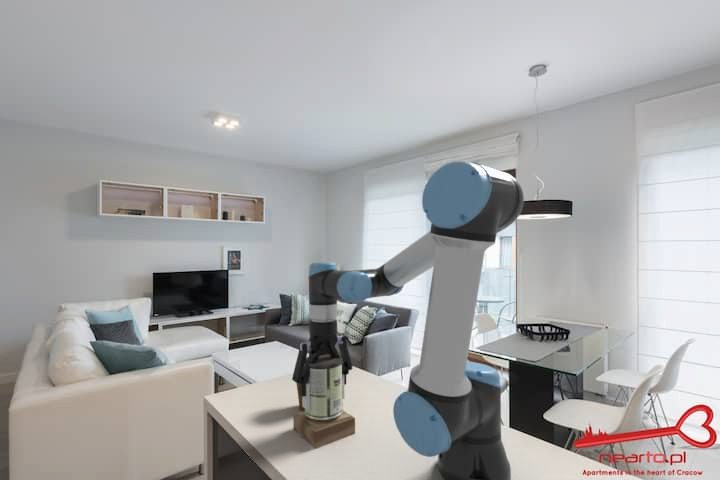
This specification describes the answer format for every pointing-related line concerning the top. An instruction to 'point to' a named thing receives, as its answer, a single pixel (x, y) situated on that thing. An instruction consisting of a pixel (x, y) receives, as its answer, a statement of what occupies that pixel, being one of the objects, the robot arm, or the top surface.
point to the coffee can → (325, 388)
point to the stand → (324, 428)
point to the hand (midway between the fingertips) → (323, 402)
